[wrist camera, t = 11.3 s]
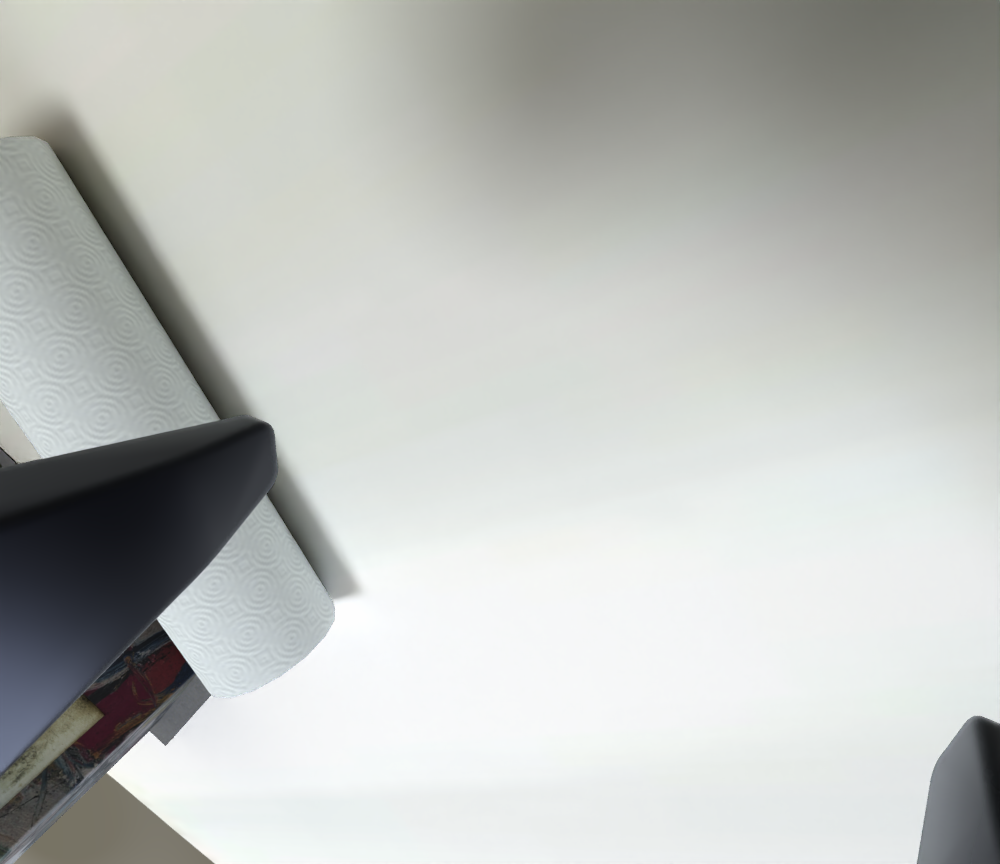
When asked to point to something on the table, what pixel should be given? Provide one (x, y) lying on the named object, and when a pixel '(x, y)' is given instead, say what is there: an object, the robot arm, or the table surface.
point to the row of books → (96, 734)
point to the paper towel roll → (134, 416)
